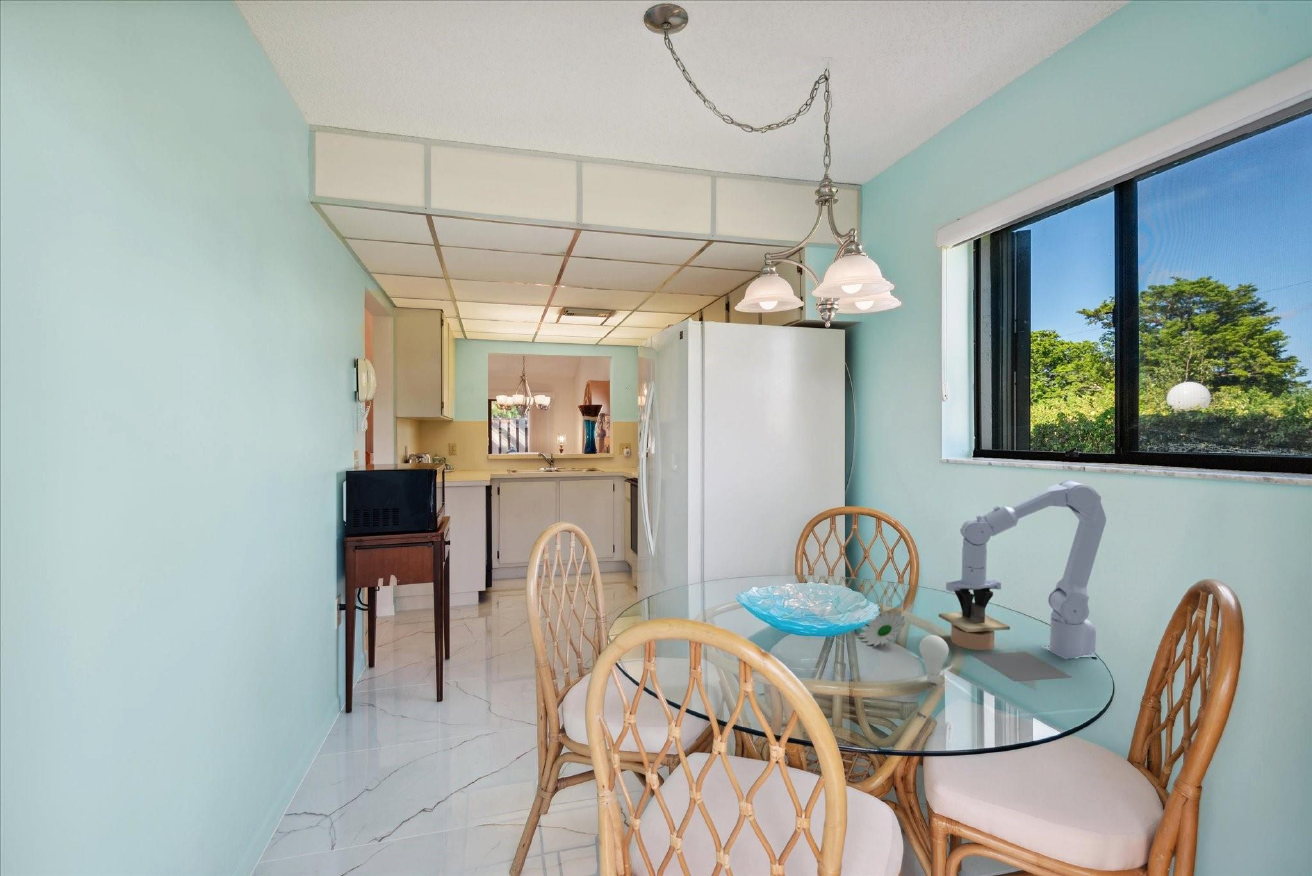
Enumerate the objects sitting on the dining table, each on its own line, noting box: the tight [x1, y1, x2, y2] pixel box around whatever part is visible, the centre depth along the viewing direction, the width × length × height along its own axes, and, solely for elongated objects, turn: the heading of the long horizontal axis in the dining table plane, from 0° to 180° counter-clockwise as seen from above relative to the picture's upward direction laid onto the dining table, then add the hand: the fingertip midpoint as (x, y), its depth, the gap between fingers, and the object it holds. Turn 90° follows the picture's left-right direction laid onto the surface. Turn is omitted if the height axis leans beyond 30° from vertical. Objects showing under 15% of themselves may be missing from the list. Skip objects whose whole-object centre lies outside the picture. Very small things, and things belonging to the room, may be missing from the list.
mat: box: [971, 651, 1073, 682], centre depth 148 cm, size 15×15×1 cm
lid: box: [938, 601, 1011, 632], centre depth 162 cm, size 12×12×5 cm
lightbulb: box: [918, 634, 950, 685], centre depth 139 cm, size 6×6×11 cm
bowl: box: [950, 623, 995, 651], centre depth 163 cm, size 10×10×4 cm
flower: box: [859, 609, 906, 647], centre depth 172 cm, size 13×6×30 cm
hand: (972, 616), depth 162 cm, fingers closed on lid, 3 cm apart
